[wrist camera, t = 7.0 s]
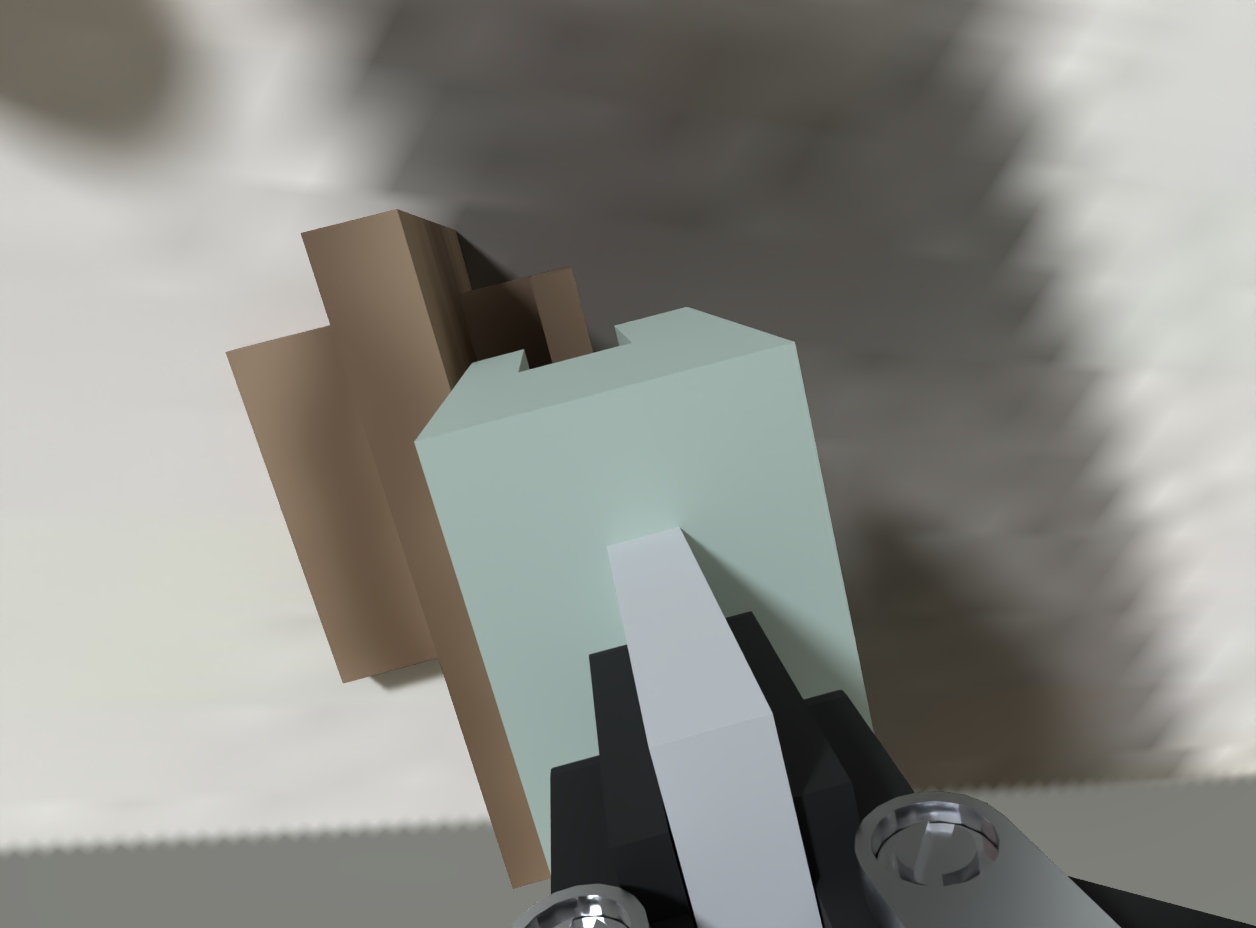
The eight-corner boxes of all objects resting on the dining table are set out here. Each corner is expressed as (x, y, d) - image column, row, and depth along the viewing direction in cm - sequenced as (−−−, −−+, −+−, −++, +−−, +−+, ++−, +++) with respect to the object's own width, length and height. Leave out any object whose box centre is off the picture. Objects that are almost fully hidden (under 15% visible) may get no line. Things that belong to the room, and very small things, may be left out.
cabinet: (687, 307, 20) (979, 402, 7) (768, 660, 22) (1116, 1289, 9) (472, 362, 20) (312, 578, 6) (574, 713, 22) (619, 1435, 8)
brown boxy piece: (548, 207, 30) (549, 171, 18) (658, 634, 34) (717, 831, 22) (220, 289, 29) (7, 305, 18) (368, 712, 33) (272, 954, 22)
